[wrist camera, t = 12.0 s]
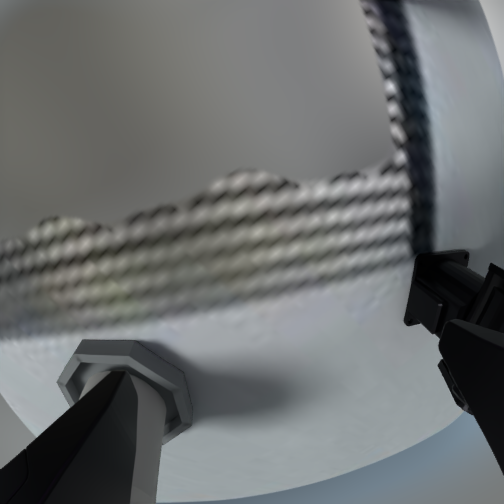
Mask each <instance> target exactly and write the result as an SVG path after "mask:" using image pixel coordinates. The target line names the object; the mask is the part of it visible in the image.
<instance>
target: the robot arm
mask: <svg viewBox="0 0 504 504" xmlns="http://www.w3.org/2000/svg"><path fill="white" fill-rule="evenodd" d="M421 260H422V261H421ZM420 261H421V263H420ZM468 261H469V252H468V251H466V250H460V251H451V252H441V253H431V254H421V255H418V256H417V257H416V259H415V264H414V270H413V276H412V282H411V287H410V293H409V298H408V303H407V308H406V312H405V317H404V323H405V324H406V325H407V326H412V325H417V324H422V325H423V326H424V327H425V328H426V329H427V330H428V331H429V332H430V333H431V334H435V335H436V336H437V337H438V338H439V339H440V340H439V345H438V347H439V351H440V353H441V355H442V357H443V359H441V361H440V362H439V364H438V367H439V369H440V371H441V373H442V376H443V377H444V379H445V382H446V384H447V386H448V388H449V390H450V392H451V394H452V396H453V398H454V400H455V402H456V404H457V405H458V406H459V407H461V408H462V410H464V411H466V412H468V413H469V414H471V415H474V417H475V419H476V421H477V423H478V425H479V426H480V428H481V430H482V432H483V434H484V436H485V438H486V440H487V442H488V443H489V446H490V447H491V449H492V452H493V454H494V456H495V458H496V460H497V462H498V464H499V466H500V468H501V471H502V473H503V475H504V270H503V269H501V268H500V267H498V266H496V265H494V264H492V263H490V266H489V268H488V270H489V271H488V273H487V275H486V278H484V277H482V276H481V275H479V274H477V273H476V272H474V271H472V270H471V269H469V268H467V266H468ZM137 416H138V394H137V391H136V389H135V386H134V384H133V381H132V379H131V376H130V374H129V373H128V371H126V370H113V371H111V372H110V373H109V374H107V375H106V376H105V377H104V378H103V379H102V380H101V381H100V382H98V383H97V384H96V385H95V386H94V387H93V388H92V389H91V390H90V391H88V392H87V393H86V394H85V395H84V396H83V397H82V398H81V399H79V400H78V401H77V402H76V403H75V404H74V405H73V406H72V407H70V408H69V409H68V410H67V411H66V412H65V413H64V414H63V415H62V416H60V417H59V418H58V419H57V420H56V421H55V422H54V423H53V424H51V425H50V426H49V427H48V428H47V429H46V430H45V431H44V432H43V433H41V434H40V435H39V436H38V437H37V438H36V439H35V440H34V441H33V442H31V443H30V444H29V445H28V446H27V447H26V449H24V450H22V451H21V452H20V453H19V454H18V455H17V456H16V457H15V458H13V459H12V460H11V461H10V462H9V463H8V464H6V465H5V466H4V467H3V468H2V469H0V504H130V499H131V489H132V481H133V472H134V465H135V457H136V446H137Z"/></svg>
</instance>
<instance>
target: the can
mask: <svg viewBox="0 0 504 504" xmlns="http://www.w3.org/2000/svg"><path fill="white" fill-rule="evenodd" d="M110 372H111V371H105V372H100V373H96V374H94V375H93V376H91V377H90V378H89V379H88V381H87V383H86V385H85V387H84V389H83V391H82V394H81V396H80V398H79V399H81V398H82V397H83V396H84V395H85V394H86V393H87V392H88V391H90V390H91V389H92V388H93V387H94V386H95V385H96V384H97V383H98V382H100V381H101V380H102V379H103V378H104V377H105V376H106V375H107V374H109V373H110ZM130 376H131V379H132V381H133V384H134V386H135V389H136V391H137V394H138V416H137V446H136V457H135V465H134V472H133V481H132V489H131V499H130V504H155V503H156V493H157V483H158V473H159V464H160V456H161V447H162V440H163V432H164V425H165V417H166V411H167V410H166V406H165V402H164V400H163V399H162V397H161V396H160V394H159V393H158V392H157V391H156V390H155V389H154V388H152V387H151V386H150V385H149V384H148V383H146V382H145V381H144V380H142V379H140V378H138V377H136V376H134V375H131V374H130Z"/></svg>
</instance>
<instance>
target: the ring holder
mask: <svg viewBox="0 0 504 504" xmlns="http://www.w3.org/2000/svg"><path fill="white" fill-rule="evenodd" d="M113 370H126V371H128V373H129V374H131V375H134V376H136V377H138V378H140V379H142V380H144V381H145V382H146V383H148V384H149V385H150V386H151V387H152V388H154V389H155V390H156V391H157V392H158V393H159V394H160V396H161V397H162V399H163V400H164V402H165V406H166V410H167V411H166V417H165V425H164V432H163V440H162V445H164V444H166V443H167V442H169V441H170V440H172V439H173V438H175V437H176V436H178V435H179V434H180V433H182V432H183V431H185V430H186V429H188V428H189V427H190V426H192V413H193V409H192V405H191V401H190V397H189V393H188V389H187V385H186V381H185V377H184V372H182V371H180V370H179V369H177V368H176V367H174V366H172V365H171V364H169V363H168V362H166V361H164V360H163V359H161V358H160V357H158V356H157V355H155V354H154V353H152V352H151V351H149V350H148V349H146V348H145V347H143V346H142V345H140V344H139V343H138V342H136V341H135V340H82V341H81V343H80V344H79V346H78V347H77V349H76V351H75V352H74V354H73V355H72V357H71V358H70V360H69V362H68V363H67V365H66V366H65V368H64V370H63V372H62V373H61V375H60V377H59V379H58V380H57V384H58V386H59V388H60V389H61V391H62V393H63V395H64V397H65V399H66V400H67V402H68V404H69V406H70V407H72V406H73V405H74V404H75V403H76V402H77V401H78V400H79V398H80V396H81V394H82V391H83V389H84V387H85V385H86V383H87V381H88V379H89V378H90V377H91V376H93V375H94V374H96V373H100V372H105V371H113Z"/></svg>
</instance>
